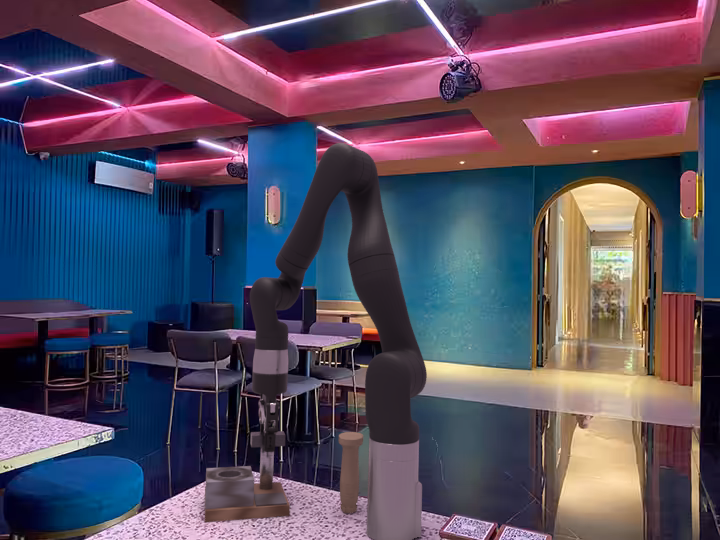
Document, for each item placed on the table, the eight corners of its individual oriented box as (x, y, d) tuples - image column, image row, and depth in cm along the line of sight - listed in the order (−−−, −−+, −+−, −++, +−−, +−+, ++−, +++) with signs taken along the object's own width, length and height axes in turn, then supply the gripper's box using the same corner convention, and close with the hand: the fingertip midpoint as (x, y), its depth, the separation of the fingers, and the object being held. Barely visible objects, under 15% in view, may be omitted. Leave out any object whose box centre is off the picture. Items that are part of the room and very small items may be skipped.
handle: (362, 506, 114) (364, 432, 115) (358, 518, 108) (360, 440, 109) (339, 504, 115) (341, 431, 116) (334, 516, 108) (336, 438, 109)
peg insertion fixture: (280, 491, 121) (281, 459, 122) (289, 515, 108) (290, 479, 108) (204, 496, 117) (206, 462, 118) (204, 522, 104) (206, 484, 104)
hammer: (281, 484, 120) (283, 431, 121) (283, 489, 117) (285, 434, 118) (248, 486, 118) (250, 432, 119) (249, 491, 115) (252, 435, 116)
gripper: (292, 374, 113) (289, 454, 112) (283, 365, 127) (280, 437, 126) (255, 374, 111) (252, 456, 110) (250, 365, 125) (246, 438, 124)
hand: (267, 446), depth 118 cm, fingers open, 8 cm apart
